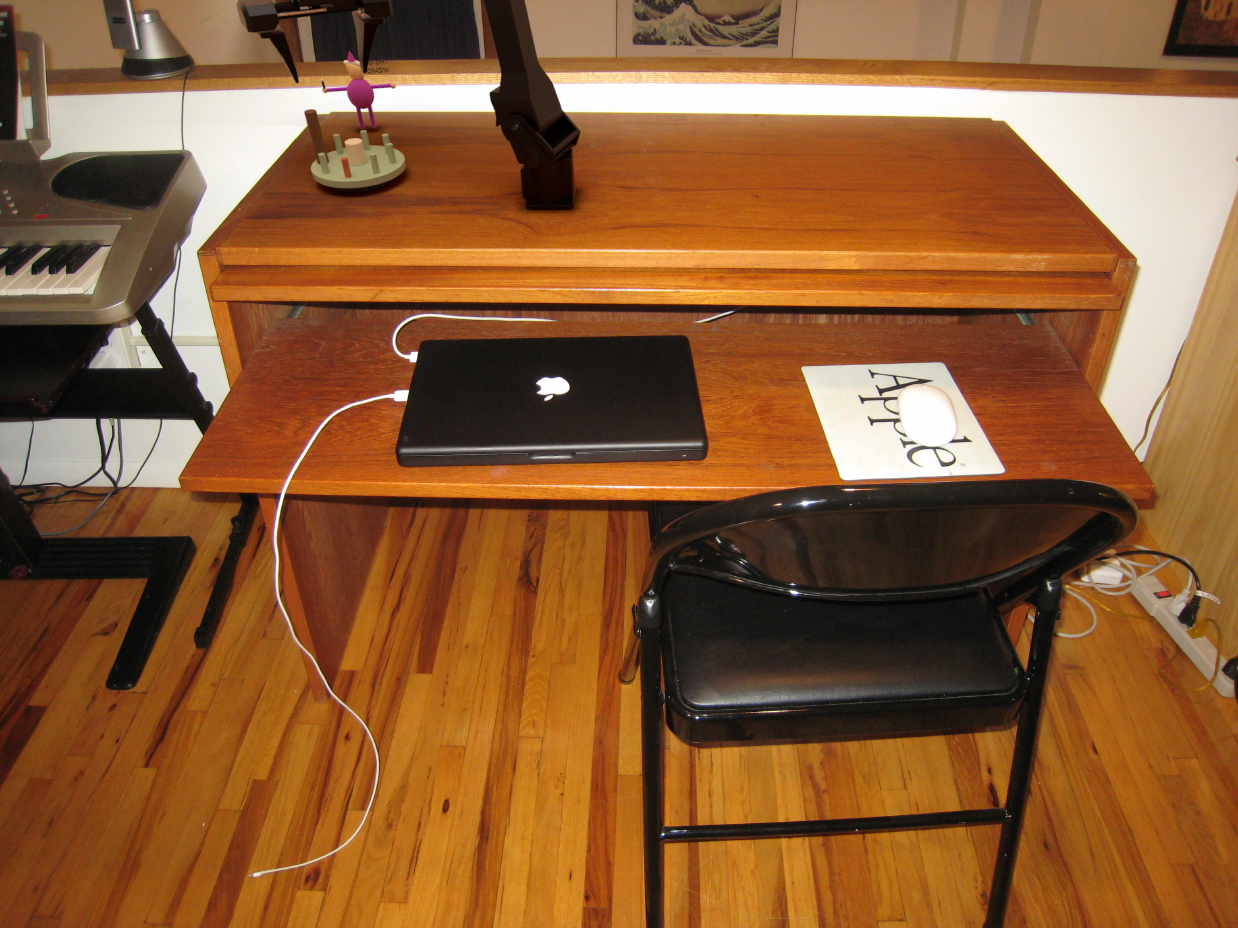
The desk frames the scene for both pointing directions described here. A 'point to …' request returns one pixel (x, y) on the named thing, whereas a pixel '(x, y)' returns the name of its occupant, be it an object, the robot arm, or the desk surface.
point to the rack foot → (363, 187)
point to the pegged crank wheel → (352, 159)
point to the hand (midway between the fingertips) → (330, 77)
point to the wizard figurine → (360, 89)
